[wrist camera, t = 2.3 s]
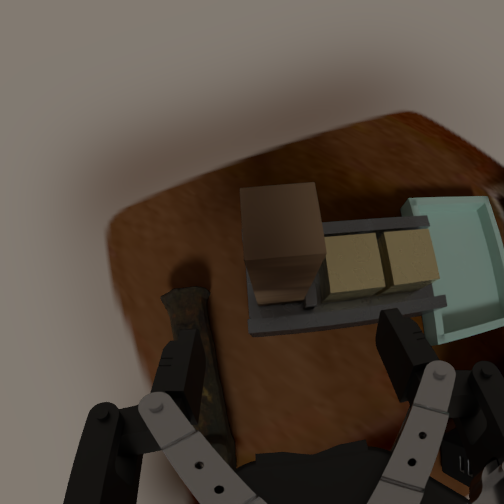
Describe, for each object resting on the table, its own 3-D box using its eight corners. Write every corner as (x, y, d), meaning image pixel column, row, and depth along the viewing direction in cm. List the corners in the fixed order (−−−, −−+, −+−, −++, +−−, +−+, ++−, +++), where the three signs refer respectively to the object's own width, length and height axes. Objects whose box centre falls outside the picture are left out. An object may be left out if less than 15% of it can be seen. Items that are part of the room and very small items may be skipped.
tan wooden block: (306, 251, 26) (328, 169, 14) (313, 308, 24) (347, 266, 13) (254, 256, 26) (239, 176, 15) (258, 314, 24) (245, 275, 13)
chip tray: (476, 205, 29) (487, 196, 27) (504, 324, 25) (517, 321, 22) (400, 209, 30) (408, 198, 27) (425, 346, 25) (438, 344, 23)
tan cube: (409, 246, 25) (428, 228, 21) (418, 290, 24) (440, 278, 20) (369, 250, 25) (383, 232, 22) (377, 296, 24) (394, 285, 20)
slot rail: (406, 236, 29) (427, 215, 24) (421, 315, 26) (447, 306, 21) (246, 250, 29) (241, 229, 25) (253, 337, 27) (248, 333, 22)
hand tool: (170, 298, 29) (152, 287, 24) (212, 291, 29) (200, 279, 24) (204, 489, 22) (192, 509, 18) (246, 486, 22) (241, 507, 18)
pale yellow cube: (361, 250, 25) (375, 232, 22) (369, 297, 24) (385, 286, 20) (315, 255, 26) (322, 237, 22) (322, 303, 24) (330, 292, 20)
